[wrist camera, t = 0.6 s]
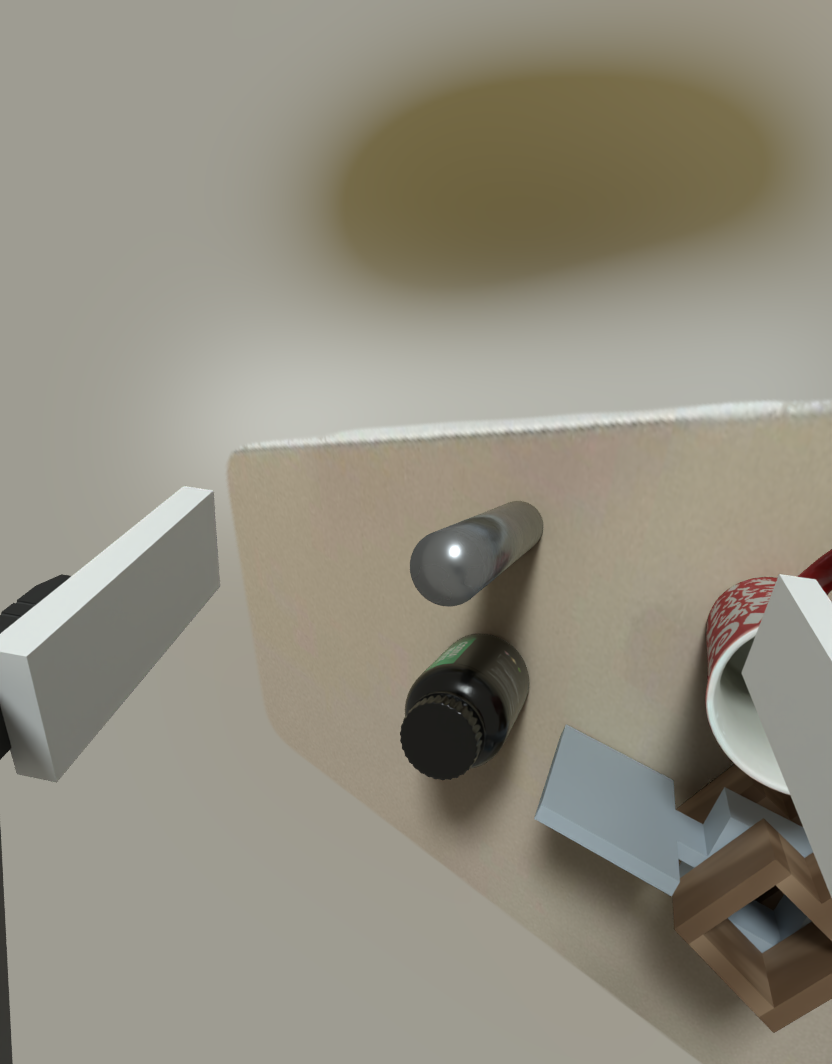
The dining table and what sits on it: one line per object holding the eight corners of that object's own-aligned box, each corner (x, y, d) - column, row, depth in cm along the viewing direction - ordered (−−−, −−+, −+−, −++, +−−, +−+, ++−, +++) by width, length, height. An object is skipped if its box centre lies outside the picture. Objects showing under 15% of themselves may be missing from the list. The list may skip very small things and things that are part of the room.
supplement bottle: (449, 622, 51) (391, 671, 40) (538, 644, 49) (504, 703, 38) (435, 705, 52) (375, 776, 41) (521, 730, 50) (484, 813, 39)
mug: (793, 726, 44) (850, 839, 31) (665, 652, 46) (669, 729, 33) (915, 562, 41) (1034, 615, 28) (771, 490, 43) (821, 508, 30)
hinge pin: (553, 525, 47) (499, 569, 31) (519, 561, 49) (448, 621, 32) (516, 490, 48) (443, 514, 31) (483, 526, 49) (395, 568, 32)
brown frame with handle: (932, 760, 41) (1037, 877, 30) (744, 890, 46) (773, 1032, 35) (844, 680, 43) (913, 763, 31) (668, 814, 47) (674, 929, 36)
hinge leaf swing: (822, 810, 44) (877, 931, 33) (771, 891, 45) (808, 1032, 34) (582, 690, 48) (562, 762, 37) (544, 768, 50) (514, 858, 39)
